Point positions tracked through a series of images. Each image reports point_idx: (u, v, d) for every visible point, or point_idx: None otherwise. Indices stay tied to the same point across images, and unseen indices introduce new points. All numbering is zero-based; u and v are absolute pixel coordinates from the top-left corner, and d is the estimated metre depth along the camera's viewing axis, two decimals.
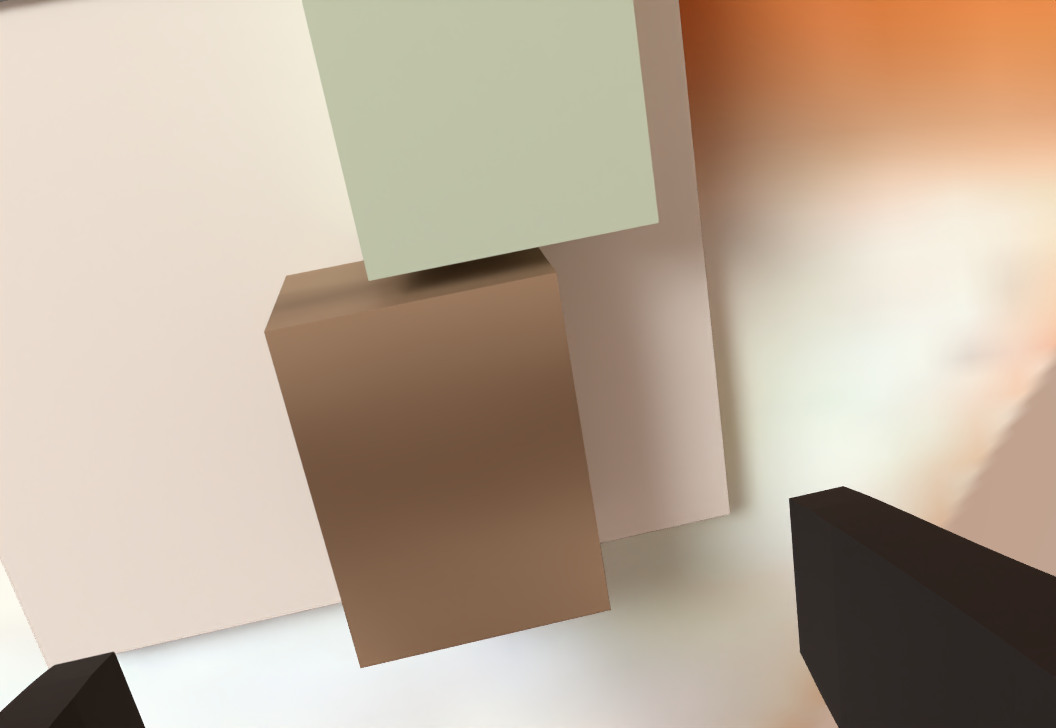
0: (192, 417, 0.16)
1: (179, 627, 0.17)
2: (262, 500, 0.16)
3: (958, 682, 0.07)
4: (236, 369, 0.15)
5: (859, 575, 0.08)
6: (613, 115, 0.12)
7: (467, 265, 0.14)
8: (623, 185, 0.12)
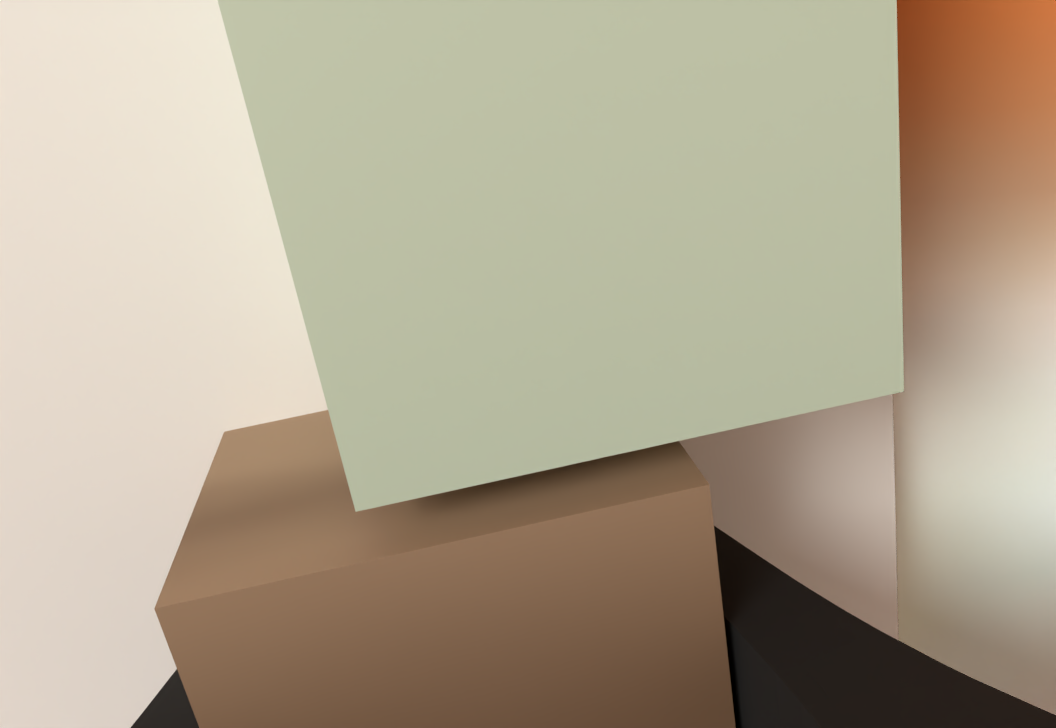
0: (77, 649, 0.10)
1: None
2: None
3: None
4: (146, 577, 0.10)
5: None
6: (838, 195, 0.06)
7: None
8: (845, 326, 0.06)
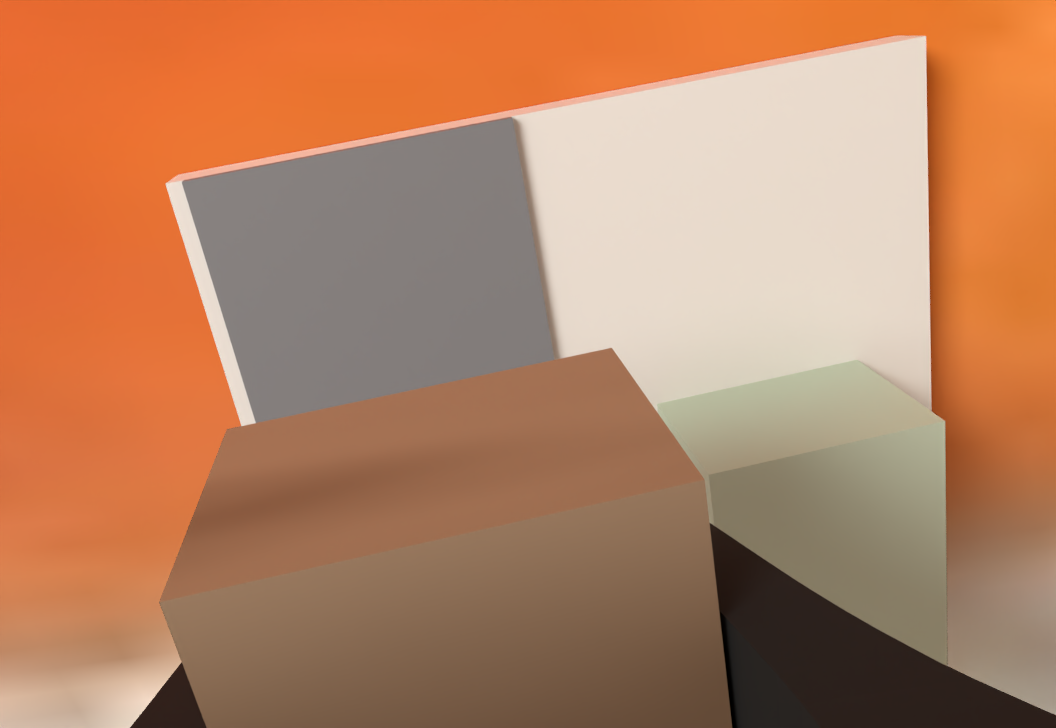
0: None
1: None
2: None
3: None
4: None
5: None
6: (924, 631, 0.16)
7: (530, 437, 0.08)
8: None
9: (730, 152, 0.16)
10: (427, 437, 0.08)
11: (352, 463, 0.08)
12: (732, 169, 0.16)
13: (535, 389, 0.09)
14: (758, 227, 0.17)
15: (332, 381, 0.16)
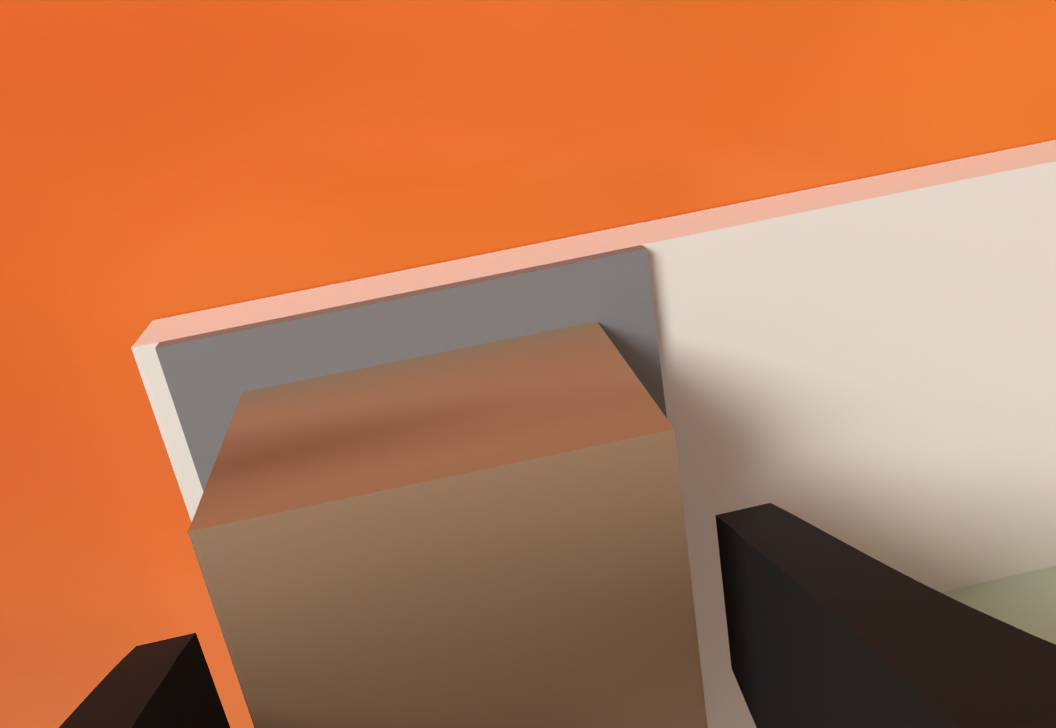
0: None
1: None
2: None
3: (859, 706, 0.07)
4: None
5: (774, 595, 0.08)
6: None
7: (520, 396, 0.09)
8: None
9: (948, 289, 0.11)
10: (426, 397, 0.09)
11: (358, 419, 0.09)
12: (948, 312, 0.11)
13: (526, 356, 0.10)
14: (977, 389, 0.12)
15: None
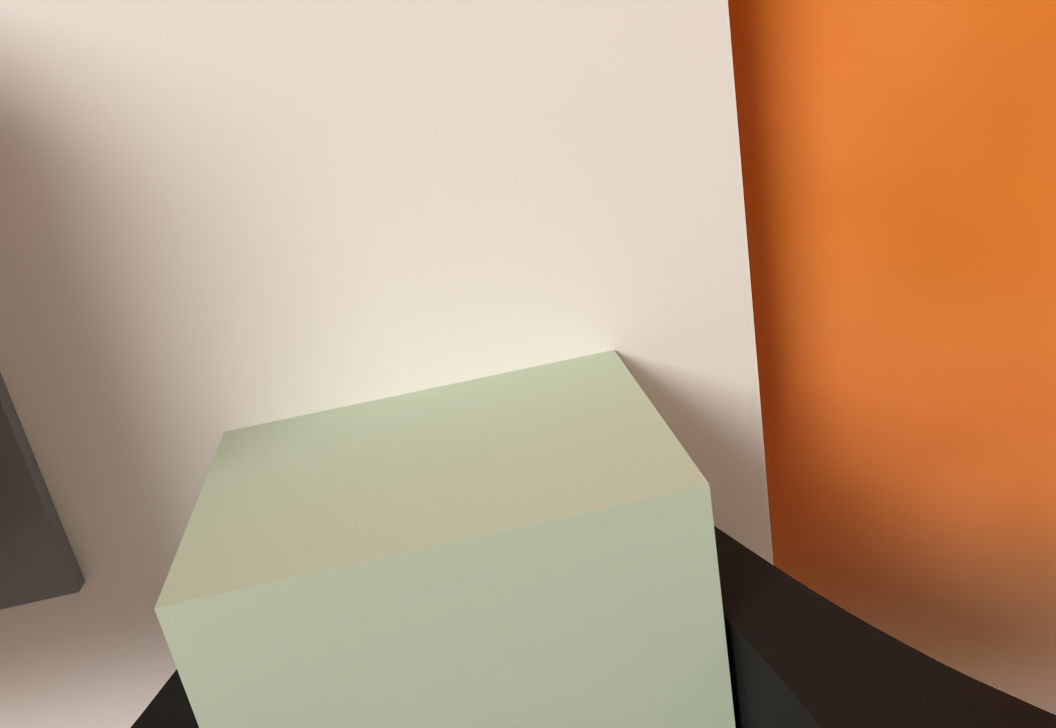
0: None
1: None
2: None
3: None
4: None
5: None
6: None
7: None
8: None
9: None
10: None
11: None
12: None
13: None
14: (383, 82, 0.08)
15: None
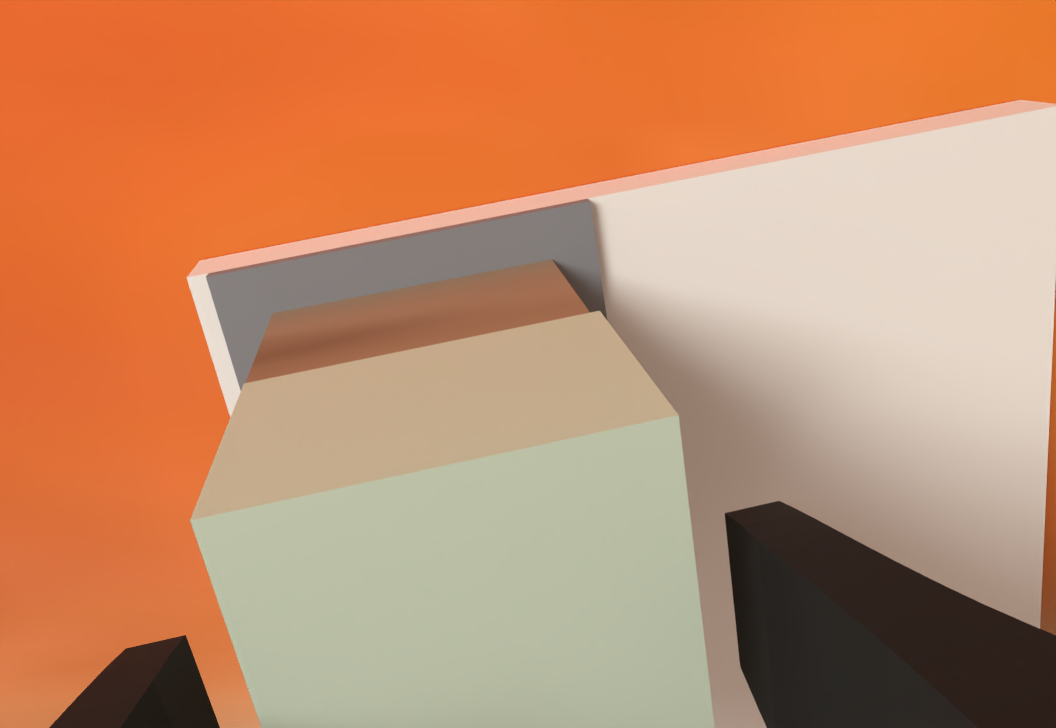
0: None
1: None
2: None
3: (871, 703, 0.07)
4: None
5: (784, 592, 0.08)
6: None
7: (487, 307, 0.12)
8: None
9: (835, 236, 0.14)
10: (416, 310, 0.12)
11: (364, 325, 0.12)
12: (837, 255, 0.14)
13: (494, 283, 0.13)
14: (863, 319, 0.14)
15: None
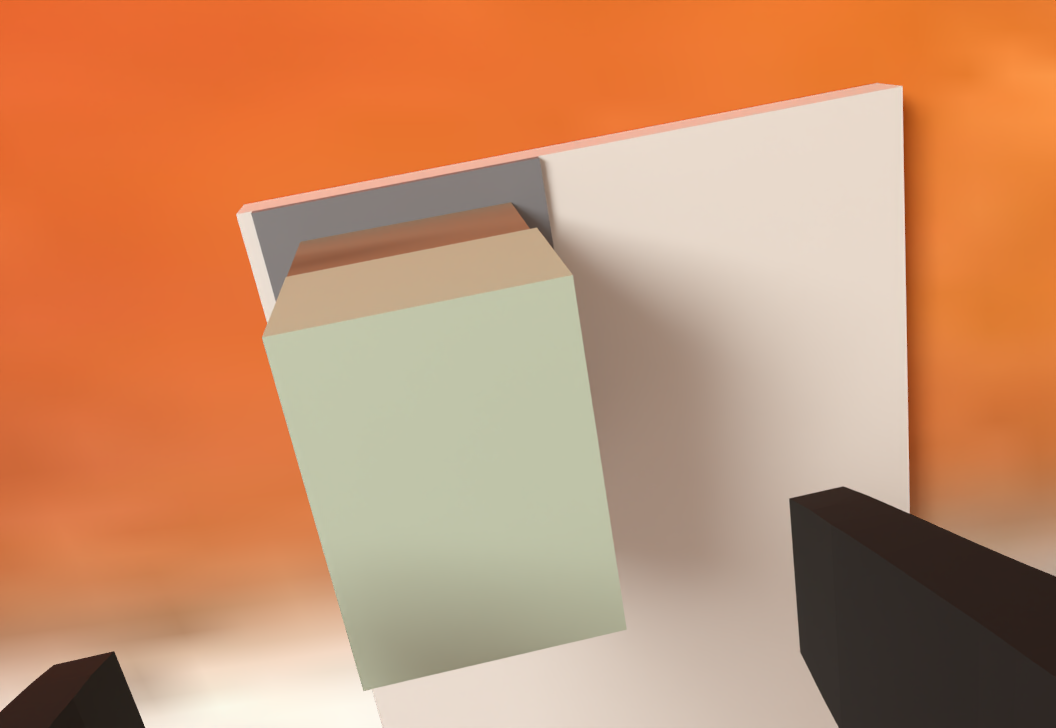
0: None
1: None
2: None
3: (958, 682, 0.07)
4: (588, 709, 0.22)
5: (859, 575, 0.08)
6: (584, 550, 0.13)
7: (459, 231, 0.16)
8: (594, 603, 0.14)
9: (729, 187, 0.18)
10: (407, 235, 0.16)
11: (369, 245, 0.16)
12: (731, 202, 0.18)
13: (466, 217, 0.17)
14: (754, 252, 0.19)
15: None
